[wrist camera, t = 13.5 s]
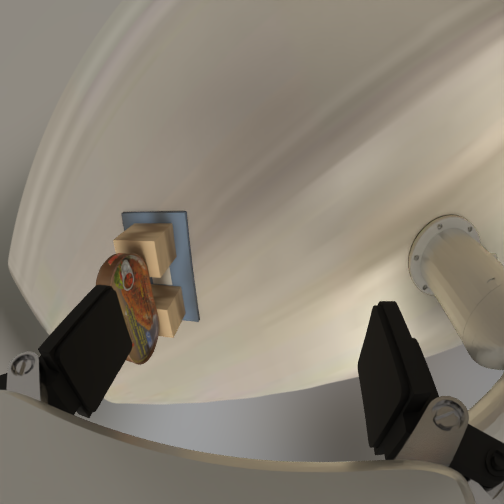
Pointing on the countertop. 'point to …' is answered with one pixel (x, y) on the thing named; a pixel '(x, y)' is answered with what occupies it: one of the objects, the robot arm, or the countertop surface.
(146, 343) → the tin
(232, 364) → the countertop surface
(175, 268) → the bridge base
